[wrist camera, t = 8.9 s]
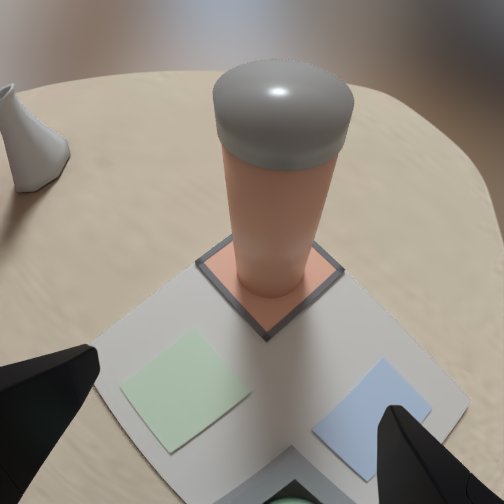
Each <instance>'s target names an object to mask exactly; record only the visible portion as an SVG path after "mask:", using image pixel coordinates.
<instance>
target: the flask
mask: <svg viewBox="0 0 504 504" xmlns="http://www.w3.org/2000/svg"><path fill="white" fill-rule="evenodd" d="M14 90H15V86H14V84H10V85H7V86H5V87H3V88H2V89H0V131H1V134H2V136H3V140H4V144H5V148H6V152H7V156H8V160H9V164H10V168H11V172H12V176H13V180H14V184H15V187H16V191H17V192H32V191H36V190H38V189H40V188H41V187H43V186H44V185H46V184H47V183H49V182H50V181H52V180H53V179H55V178H57V177H58V176H59V175H60V173H61V171H62V169H63V167H64V165H65V163H66V161H67V159H68V158H69V156H70V151H69V147H68V142H67V140H66V139H65V138H64V137H62V136H61V135H60V134H58V133H57V132H55V131H54V130H52V129H51V128H49V127H48V126H46V125H45V124H44V123H42V122H41V121H40V120H38V119H37V118H36V117H34V116H33V115H32V114H30V113H29V112H28V111H27V109H26V108H25V107H24V106H23V105H22V104H21V103H20V101H19V100H18V98H17V96H16V94H15V92H14Z"/></svg>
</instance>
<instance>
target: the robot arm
mask: <svg viewBox="0 0 504 504" xmlns="http://www.w3.org/2000/svg"><path fill="white" fill-rule="evenodd" d="M99 373H100V363H99V357H98V351H97V349H96V348H95V347H93V346H90V345H88V344H83V345H80V346H76V347H72V348H69V349H65V350H62V351H58V352H55V353H51V354H47V355H44V356H40V357H36V358H32V359H29V360H25V361H21V362H17V363H13V364H9V365H6V366H2V367H0V504H18V502H19V501H20V499H21V497H22V496H23V494H24V492H25V491H26V489H27V488H28V486H29V484H30V483H31V481H32V480H33V478H34V477H35V475H36V473H37V472H38V470H39V469H40V467H41V466H42V464H43V463H44V461H45V460H46V458H47V457H48V455H49V454H50V452H51V451H52V449H53V448H54V446H55V445H56V443H57V442H58V440H59V439H60V437H61V436H62V434H63V433H64V431H65V430H66V428H67V427H68V426H69V424H70V423H71V421H72V420H73V418H74V417H75V415H76V414H77V413H78V411H79V409H80V408H81V406H82V405H83V403H84V401H85V399H86V397H87V395H88V394H89V392H90V390H91V388H92V386H93V385H94V383H95V381H96V379H97V377H98V376H99ZM377 484H378V497H379V504H504V501H503V500H502V499H501V498H499V497H498V496H497V495H496V494H494V493H493V492H492V491H491V490H490V489H488V488H487V487H486V486H485V485H484V484H483V483H482V482H481V481H480V480H478V479H477V478H476V477H475V476H474V475H473V474H472V473H470V471H469V470H468V469H467V468H466V467H465V466H464V465H463V464H462V463H461V462H460V461H459V460H458V459H457V458H455V457H454V456H453V455H452V454H451V453H450V452H449V451H448V450H447V449H446V448H445V447H444V446H443V445H442V444H441V443H440V442H439V441H438V440H437V439H436V438H435V437H434V436H433V435H432V434H431V433H430V432H429V431H428V430H427V429H426V428H425V427H424V426H422V425H421V424H420V423H419V422H418V421H417V420H416V419H415V418H414V417H413V416H412V415H411V414H410V413H409V412H408V411H407V410H406V409H405V408H404V407H403V406H401V405H389V406H387V408H386V410H385V412H384V414H383V416H382V418H381V420H380V422H379V424H378V428H377Z"/></svg>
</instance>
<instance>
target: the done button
mask: <svg viewBox="0 0 504 504" xmlns="http://www.w3.org/2000/svg"><path fill="white" fill-rule="evenodd" d="M262 504H317V503H315V502H314V501H312V500H310V499H307V498H304V497H299V496H282V497H277V498H273V499H271V500H268V501H266V502H264V503H262Z"/></svg>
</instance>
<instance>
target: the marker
mask: <svg viewBox="0 0 504 504" xmlns="http://www.w3.org/2000/svg"><path fill="white" fill-rule="evenodd" d="M213 101H214V110H215V118H216V127H217V134H218V137H219V140H220V141H221V144H222V153H223V162H224V171H225V179H226V188H227V196H228V205H229V213H230V221H231V229H232V237H233V245H234V253H235V261H236V269H237V274H238V277H239V280H240V282H241V283H242V284H243V286H244V287H245V288H246V289H247V290H248V291H250V292H251V293H253V294H255V295H257V296H260V297H265V298H276V297H281V296H284V295H286V294H288V293H290V292H291V291H293V290H294V289H295V288H296V287H297V286H298V284H299V283H300V281H301V279H302V276H303V273H304V270H305V266H306V263H307V260H308V257H309V254H310V251H311V247H312V244H313V241H314V238H315V234H316V231H317V228H318V224H319V221H320V218H321V214H322V211H323V207H324V204H325V200H326V197H327V193H328V190H329V186H330V183H331V179H332V175H333V172H334V168H335V164H336V161H337V157H338V153H339V152H340V150H341V149H342V147H343V145H344V142H345V138H346V135H347V131H348V127H349V123H350V119H351V115H352V111H353V107H354V97H353V94H352V92H351V90H350V89H349V87H348V86H347V85H346V84H345V83H344V82H343V81H342V80H341V79H340V78H338V77H337V76H335V75H334V74H332V73H331V72H329V71H327V70H325V69H322V68H320V67H317V66H314V65H312V64H307V63H304V62H299V61H293V60H283V59H270V60H260V61H254V62H249V63H246V64H242V65H240V66H237V67H235V68H233V69H231V70H229V71H227V72H226V73H225V74H223V75H222V76H221V77H220V78H219V79H218V80H217V82H216V83H215V85H214V88H213Z"/></svg>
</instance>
